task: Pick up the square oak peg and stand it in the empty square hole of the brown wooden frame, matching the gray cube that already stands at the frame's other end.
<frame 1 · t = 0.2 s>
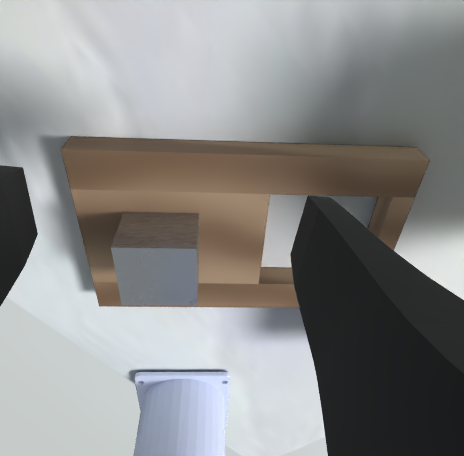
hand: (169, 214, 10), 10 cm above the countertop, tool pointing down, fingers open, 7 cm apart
gray cube: (166, 225, 22), resting on brown wooden frame
brown wooden frame: (241, 227, 23), on the countertop
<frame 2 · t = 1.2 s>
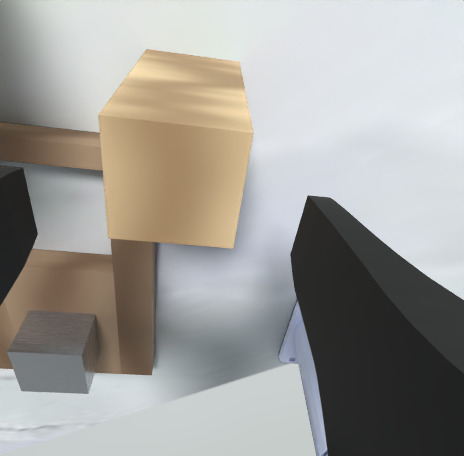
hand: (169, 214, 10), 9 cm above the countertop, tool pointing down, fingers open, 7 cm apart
gray cube: (73, 314, 26), resting on brown wooden frame
brown wooden frame: (65, 266, 23), on the countertop
oak peg: (190, 101, 17), on the countertop
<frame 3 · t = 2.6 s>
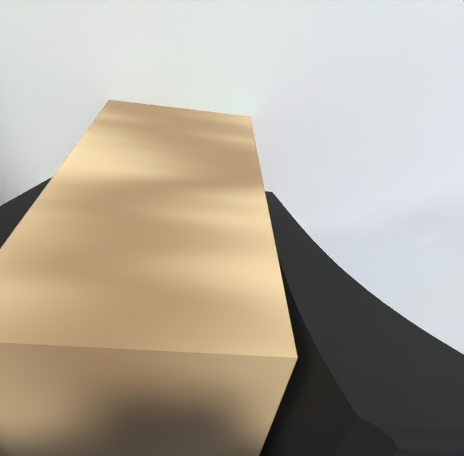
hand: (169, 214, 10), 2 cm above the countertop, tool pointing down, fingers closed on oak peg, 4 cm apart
oak peg: (177, 170, 12), on the countertop, touching gripper
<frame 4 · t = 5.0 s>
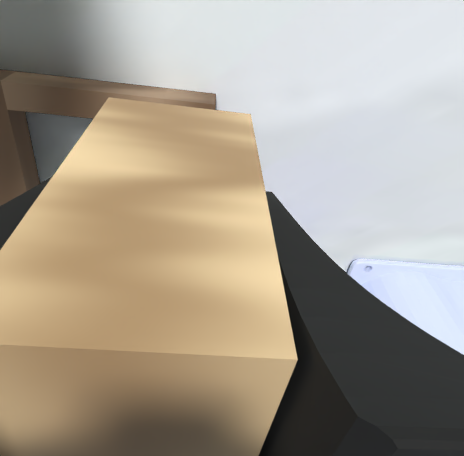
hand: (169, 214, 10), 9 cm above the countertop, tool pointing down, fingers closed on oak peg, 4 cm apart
brown wooden frame: (108, 237, 22), on the countertop
oak peg: (177, 168, 12), point 7 cm above the countertop, touching gripper
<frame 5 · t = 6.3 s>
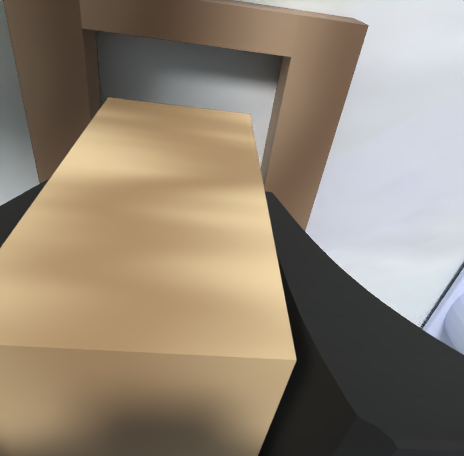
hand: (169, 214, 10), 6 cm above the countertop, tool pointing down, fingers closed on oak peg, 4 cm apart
brown wooden frame: (181, 217, 18), on the countertop
oak peg: (177, 168, 12), point 4 cm above the countertop, touching gripper
when the fingers open (4 cm above the countertop, at t = 7.3 s): oak peg drops 1 cm, resting in brown wooden frame.
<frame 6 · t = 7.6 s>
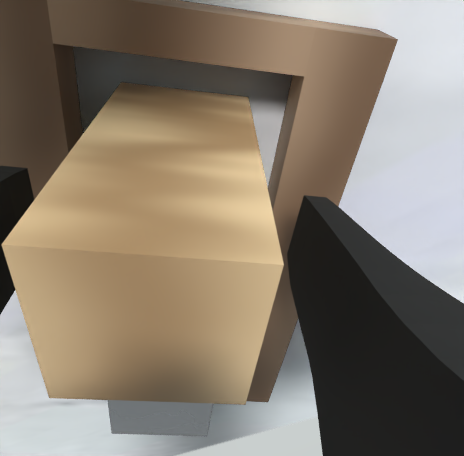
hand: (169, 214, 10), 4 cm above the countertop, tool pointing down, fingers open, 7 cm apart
gray cube: (172, 319, 18), resting on brown wooden frame
brown wooden frame: (175, 249, 16), on the countertop
oak peg: (182, 148, 13), resting in brown wooden frame
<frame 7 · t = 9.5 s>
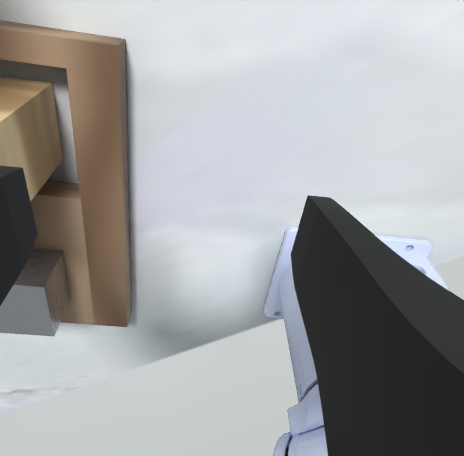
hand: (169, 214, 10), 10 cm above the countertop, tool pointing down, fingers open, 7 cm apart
gray cube: (43, 256, 24), resting on brown wooden frame
brown wooden frame: (31, 196, 21), on the countertop
oak peg: (16, 118, 19), resting in brown wooden frame
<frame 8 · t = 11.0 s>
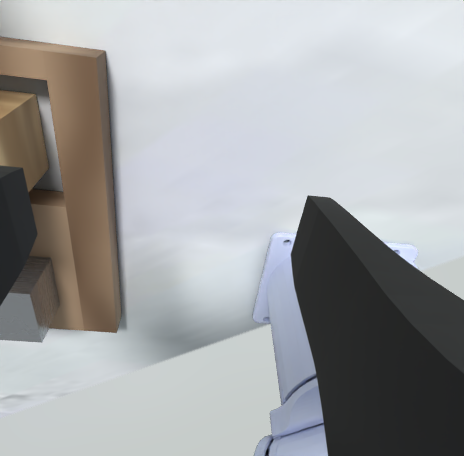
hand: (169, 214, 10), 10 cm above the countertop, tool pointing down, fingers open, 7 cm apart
gray cube: (32, 263, 24), resting on brown wooden frame
brown wooden frame: (18, 205, 22), on the countertop
oak peg: (2, 129, 19), resting in brown wooden frame
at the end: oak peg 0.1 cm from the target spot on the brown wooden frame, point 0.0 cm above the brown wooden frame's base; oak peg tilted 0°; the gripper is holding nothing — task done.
